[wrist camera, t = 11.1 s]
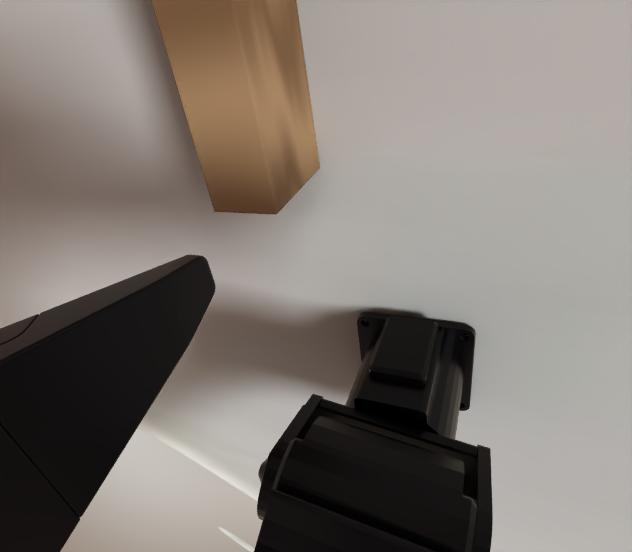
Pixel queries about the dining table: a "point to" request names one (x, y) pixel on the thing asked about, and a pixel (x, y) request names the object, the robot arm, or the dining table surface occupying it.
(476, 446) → the robot arm
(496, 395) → the dining table surface
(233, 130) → the rail
